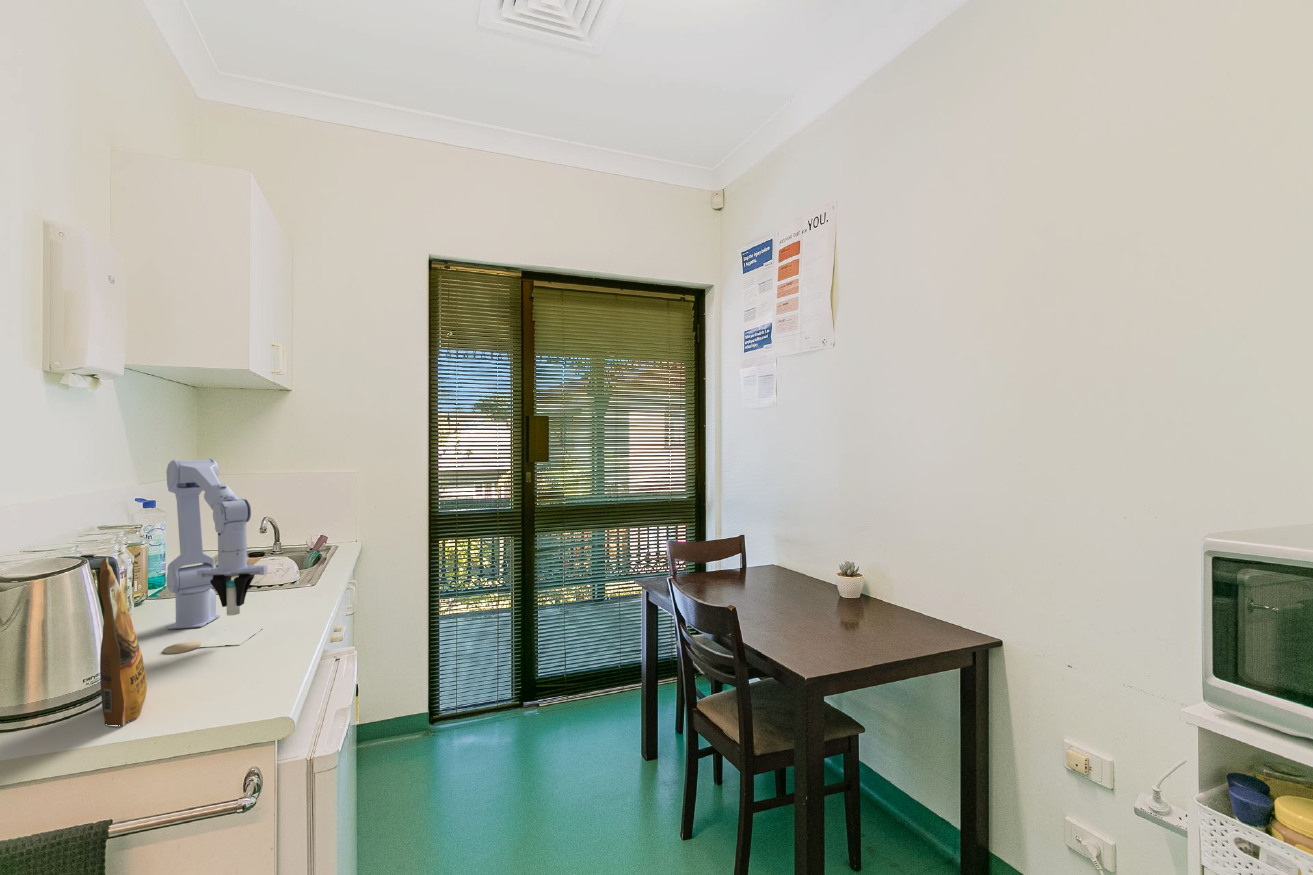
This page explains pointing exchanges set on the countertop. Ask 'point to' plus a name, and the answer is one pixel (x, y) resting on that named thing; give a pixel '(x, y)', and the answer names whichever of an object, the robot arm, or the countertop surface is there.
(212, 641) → the paper
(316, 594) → the countertop surface
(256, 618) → the countertop surface
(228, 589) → the marker
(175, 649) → the coaster
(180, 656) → the countertop surface
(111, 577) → the pancake mix bag
